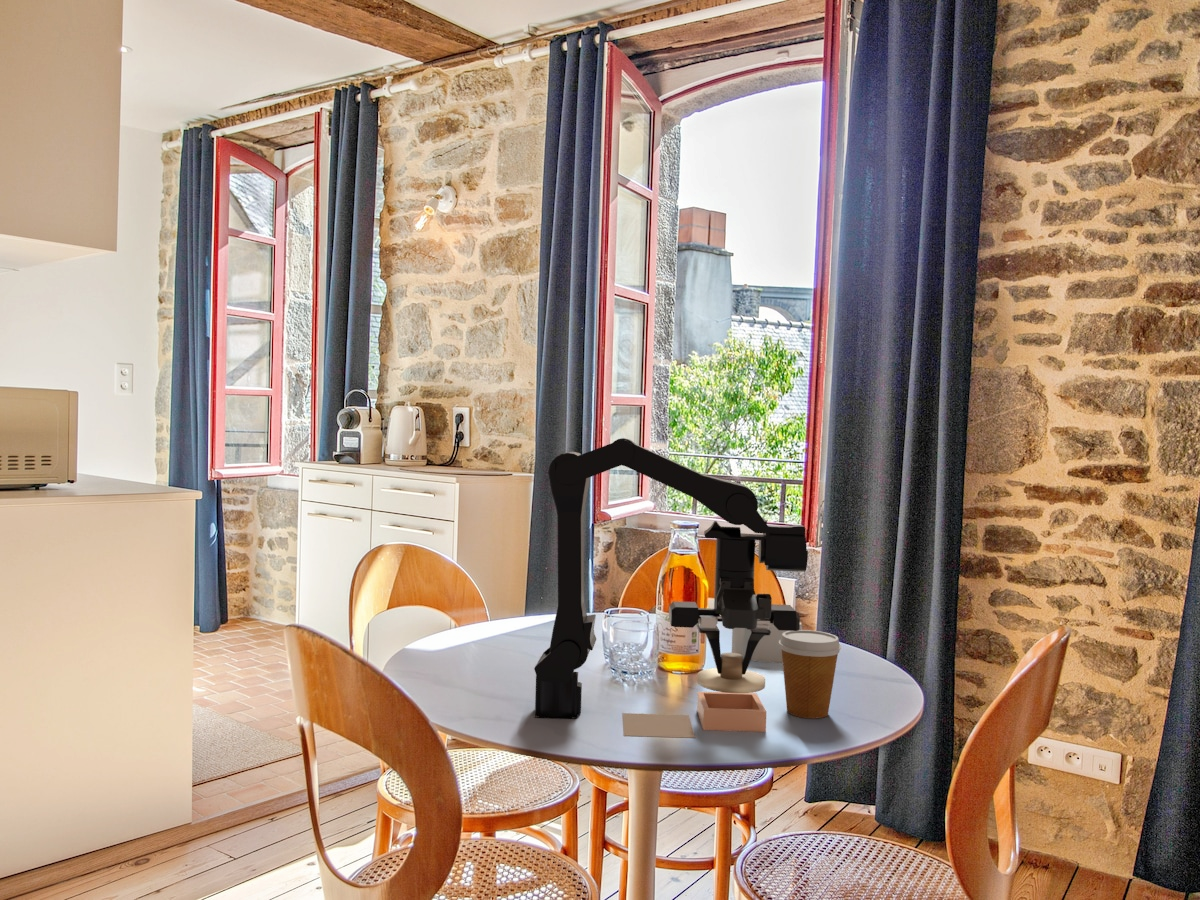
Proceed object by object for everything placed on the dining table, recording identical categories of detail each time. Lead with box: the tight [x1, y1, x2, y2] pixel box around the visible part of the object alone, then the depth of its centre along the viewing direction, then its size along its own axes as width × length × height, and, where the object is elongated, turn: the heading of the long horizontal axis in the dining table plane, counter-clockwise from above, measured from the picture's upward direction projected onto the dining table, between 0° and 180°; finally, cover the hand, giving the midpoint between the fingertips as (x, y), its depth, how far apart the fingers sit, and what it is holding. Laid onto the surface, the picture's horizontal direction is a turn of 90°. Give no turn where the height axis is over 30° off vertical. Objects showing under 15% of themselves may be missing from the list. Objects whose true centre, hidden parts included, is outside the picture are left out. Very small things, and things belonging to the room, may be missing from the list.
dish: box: [696, 691, 767, 733], centre depth 138 cm, size 9×9×4 cm
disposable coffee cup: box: [779, 629, 842, 719], centre depth 144 cm, size 10×10×12 cm
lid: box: [696, 652, 766, 693], centre depth 137 cm, size 10×10×4 cm
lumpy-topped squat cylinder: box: [731, 621, 803, 664], centre depth 180 cm, size 10×13×9 cm
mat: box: [622, 712, 696, 739], centre depth 135 cm, size 10×10×1 cm
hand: (731, 673), depth 137 cm, fingers closed on lid, 3 cm apart
